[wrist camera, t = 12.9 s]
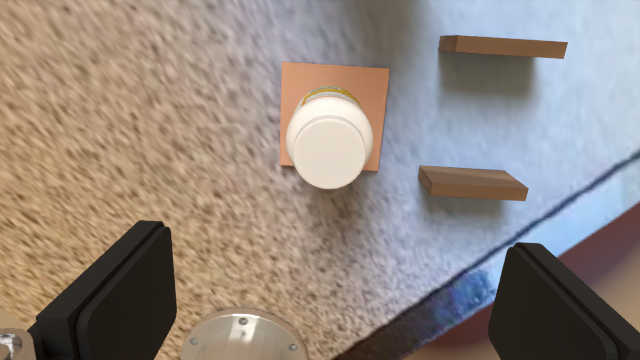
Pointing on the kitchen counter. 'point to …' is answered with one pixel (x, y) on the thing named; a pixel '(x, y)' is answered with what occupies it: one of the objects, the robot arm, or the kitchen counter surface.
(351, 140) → the supplement bottle
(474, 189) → the slot rack
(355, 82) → the terracotta tile
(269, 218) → the kitchen counter surface
